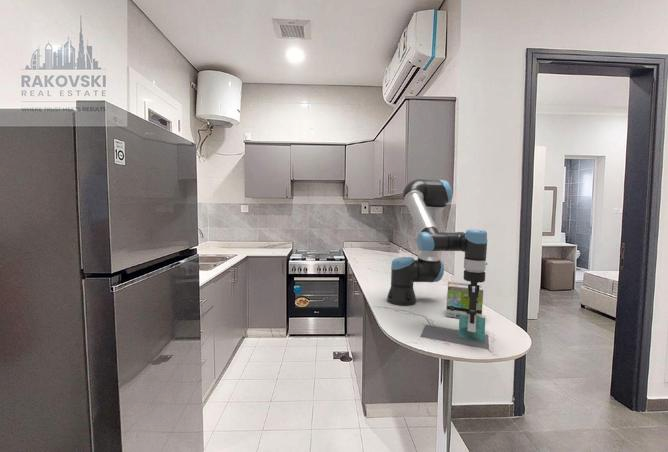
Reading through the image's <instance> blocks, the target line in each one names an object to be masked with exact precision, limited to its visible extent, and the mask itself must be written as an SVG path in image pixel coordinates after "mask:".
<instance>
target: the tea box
mask: <svg viewBox="0 0 668 452" xmlns="http://www.w3.org/2000/svg"><path fill="white" fill-rule="evenodd" d="M468 284H469V283H464V282H455V281H448V282H447V293H446V294H447V296H446V313H445V315H446V317H447V318H448V317H449V318H456V319H459V315H460V312H463V313H467V311H469V299H470V297H469V296H468V293H469V291H468ZM478 285H479V294H478V298H477V301H479V302H478V303H477V310H476V312H477V315H483V303H484V302H483V301H484V300H483V299H484V289H483V286H482V284H478Z"/></svg>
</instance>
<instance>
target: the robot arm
mask: <svg viewBox="0 0 668 452" xmlns="http://www.w3.org/2000/svg"><path fill="white" fill-rule="evenodd" d="M452 198H453V190H452V187H451V185H450V183H449V182H448V180H444V179H419V178H418V179H414V180H411V181H409V182H408V183H407V184H406V185H405V186H404V189H403V192H402V200H403V203H404V205H405V206H406V207H407V208H408V210H409V212H410V215H411V218H412V219H413V221H414V224H415V227H416V228H417V231H418V234H417V237H416V245H417V247H418V249H419V250H420V253H419V254H418V255H417V259H415V258H414V257H412V256H399V257H395V258H394V259H393V260H392V261H391V266H390V269H391V272H390V273H391V274H390V288H389V290H388V294H387V296H386V301H387V302H388V303H389V304H391V305H395V306H396V305H397V306H404V307H405V306H413V305H416V304H417V296H416V294H415V290H414V283H437V282H439V281H441V280H442V278H443V276H444V273H445V272H444V271H445V267H444V266H445V264H444V262H443V261H442V260H441V257H440V256H439V252H464V258H463V269H464V270H463V280H464V281H466V282H469V283H467V284H468V291H469V293H468V296H469V297H470V299H469V311H467V314H468V331H470V332H476V314H477V312H476V310H477V303H478V302H479V301H477V298H478V294H479V285H480V284H478V283H484V282H485V281H486V272H485V271H486V269H487V268H486V266H488V264H489V263H488V262H487V252H488V251H487V248H488V232H487V231H486V230H484V229H476V228H475V229H467V230H466V231H465V232H463V231H456V232H443V231H442V232H441V227H442V217H443V216H442V215H443V210H445V209H446V208H447V207H446V206H447V204H449V203H450V202H451V201H452Z"/></svg>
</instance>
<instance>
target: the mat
mask: <svg viewBox="0 0 668 452" xmlns="http://www.w3.org/2000/svg"><path fill="white" fill-rule="evenodd" d="M423 327H424V328H423V329H422V330H421V333H420V336H419V337H420V338H424V339H430V340H436V341H440V342H446V343H451V344H457V345H462V346H467V347H473V348H479V349H484V350H490V339H489V334H485V337H484V341H478V340H472V339H466V338H461V337H459V329H454V328H449V327H448V328H447V327H443V326H436V325H430V324H425V325H424V326H423Z"/></svg>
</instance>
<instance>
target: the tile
mask: <svg viewBox="0 0 668 452" xmlns="http://www.w3.org/2000/svg"><path fill="white" fill-rule="evenodd" d="M458 319H459V321H458V330H459V337H461V338H466V339H472V340H478V341H484V337H485V335H486V334H485V333H486V331H485V330H486V315H483V314H482V315H477V314H476V332H470V331H468V314H467V313H463V312H460V315H459V318H458Z"/></svg>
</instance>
